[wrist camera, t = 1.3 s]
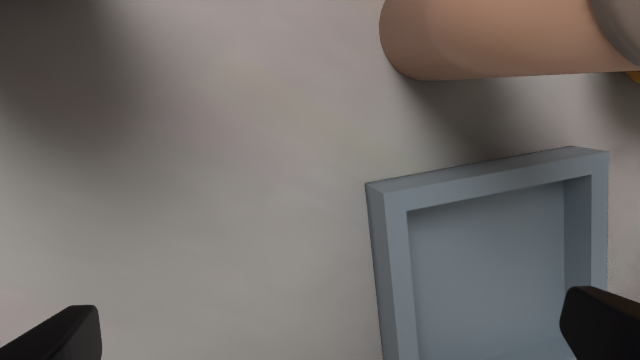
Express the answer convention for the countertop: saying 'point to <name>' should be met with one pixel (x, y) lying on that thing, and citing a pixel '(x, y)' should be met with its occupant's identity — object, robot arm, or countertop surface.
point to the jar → (509, 37)
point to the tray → (487, 254)
